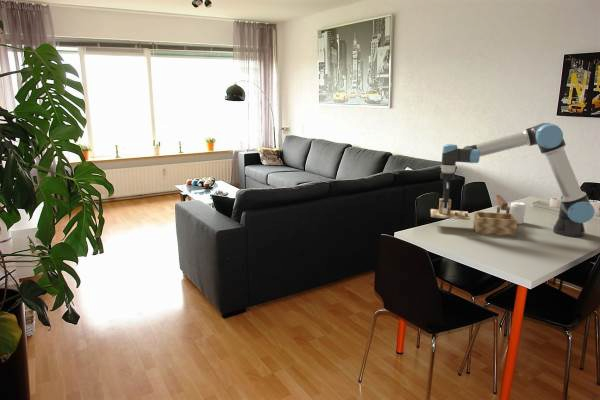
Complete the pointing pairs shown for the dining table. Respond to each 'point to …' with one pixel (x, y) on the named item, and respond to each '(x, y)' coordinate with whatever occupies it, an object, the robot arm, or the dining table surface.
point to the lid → (449, 212)
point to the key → (501, 202)
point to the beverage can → (518, 211)
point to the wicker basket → (495, 223)
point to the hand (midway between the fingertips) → (444, 212)
